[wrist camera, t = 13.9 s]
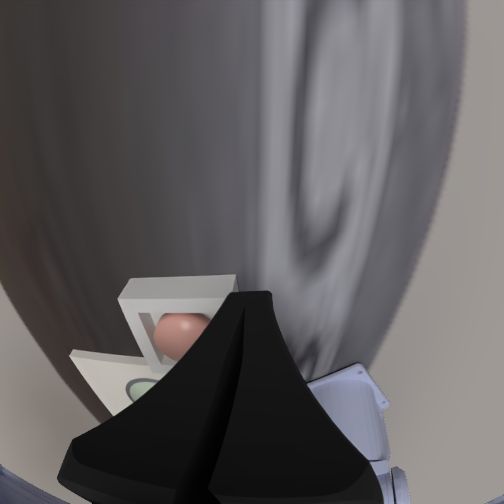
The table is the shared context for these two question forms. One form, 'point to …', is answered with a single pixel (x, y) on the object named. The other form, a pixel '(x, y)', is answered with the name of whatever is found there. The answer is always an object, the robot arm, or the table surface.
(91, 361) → the picture board
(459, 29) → the table surface
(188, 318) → the button
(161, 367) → the button box
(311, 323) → the table surface
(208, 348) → the robot arm
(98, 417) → the table surface
